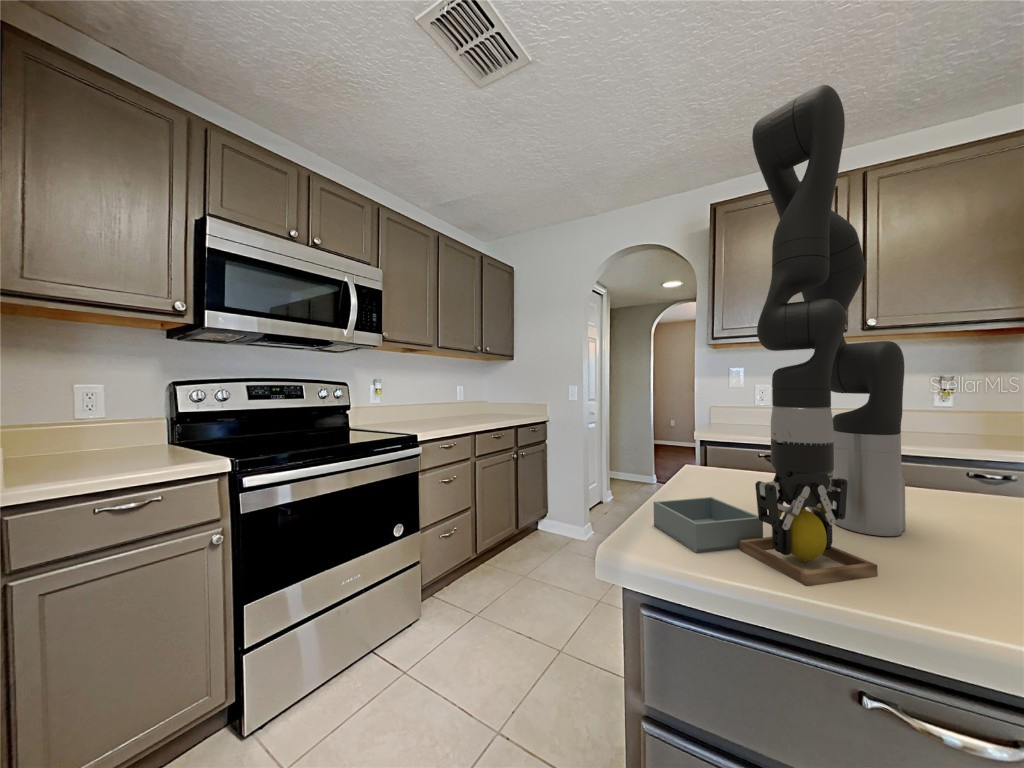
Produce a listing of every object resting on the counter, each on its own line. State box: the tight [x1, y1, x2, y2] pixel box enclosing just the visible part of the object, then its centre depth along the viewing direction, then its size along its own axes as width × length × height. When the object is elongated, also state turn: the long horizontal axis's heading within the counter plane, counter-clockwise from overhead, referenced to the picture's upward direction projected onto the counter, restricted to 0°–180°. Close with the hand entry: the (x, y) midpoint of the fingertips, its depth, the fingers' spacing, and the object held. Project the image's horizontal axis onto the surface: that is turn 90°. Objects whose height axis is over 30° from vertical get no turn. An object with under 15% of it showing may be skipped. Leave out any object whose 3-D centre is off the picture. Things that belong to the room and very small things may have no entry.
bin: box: [653, 496, 764, 554], centre depth 70 cm, size 12×12×4 cm
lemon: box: [789, 508, 827, 563], centre depth 59 cm, size 6×6×8 cm
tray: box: [738, 536, 878, 587], centre depth 59 cm, size 12×12×2 cm
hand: (802, 550), depth 59 cm, fingers open, 6 cm apart
